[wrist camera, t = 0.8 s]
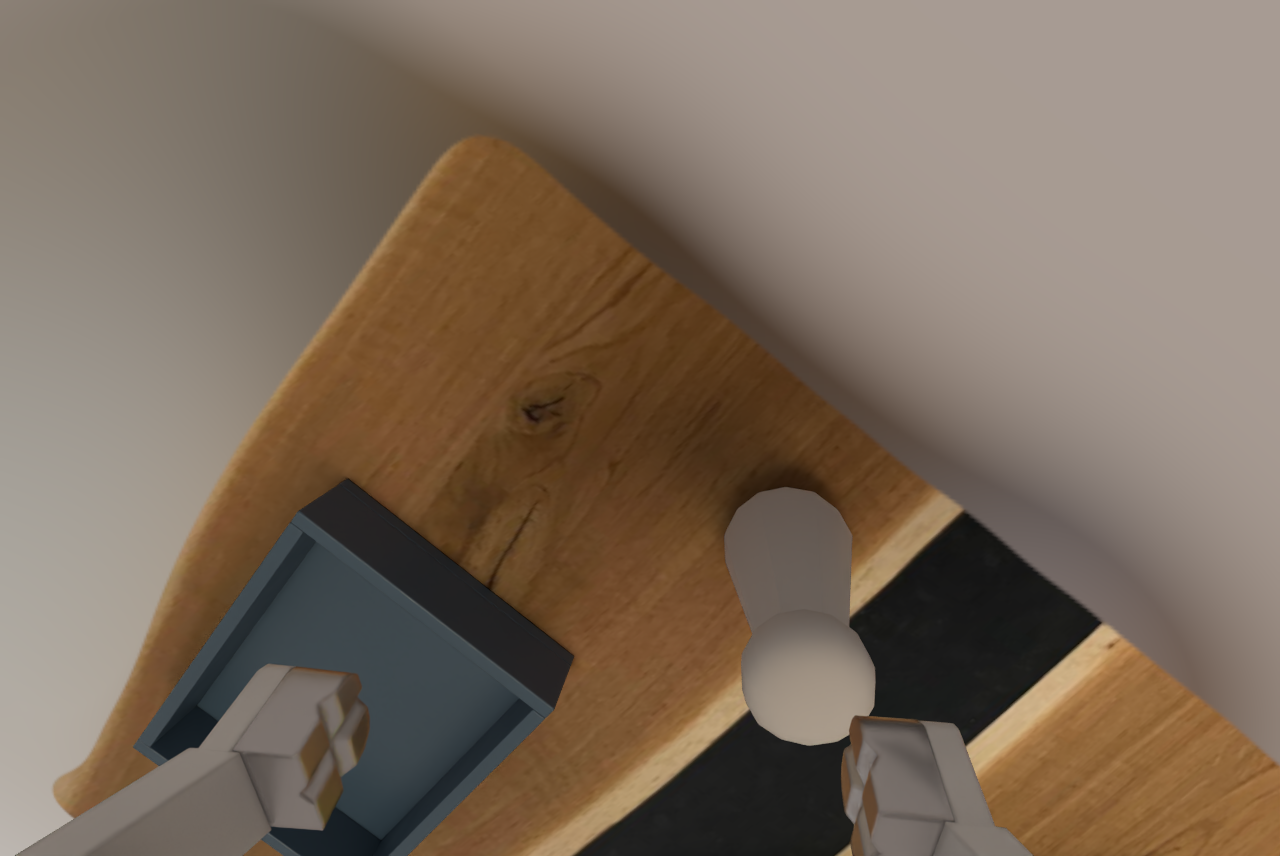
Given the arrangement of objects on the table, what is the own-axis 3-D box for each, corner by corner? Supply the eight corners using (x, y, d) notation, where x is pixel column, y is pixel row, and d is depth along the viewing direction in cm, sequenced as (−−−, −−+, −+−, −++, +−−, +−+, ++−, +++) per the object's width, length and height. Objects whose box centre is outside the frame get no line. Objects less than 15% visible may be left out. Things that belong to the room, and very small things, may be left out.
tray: (347, 478, 36) (297, 510, 32) (574, 656, 37) (554, 709, 33) (190, 696, 42) (132, 747, 38) (391, 843, 43) (355, 908, 39)
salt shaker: (793, 447, 32) (830, 587, 20) (868, 533, 33) (949, 719, 21) (700, 518, 34) (680, 688, 21) (774, 598, 35) (796, 807, 22)
